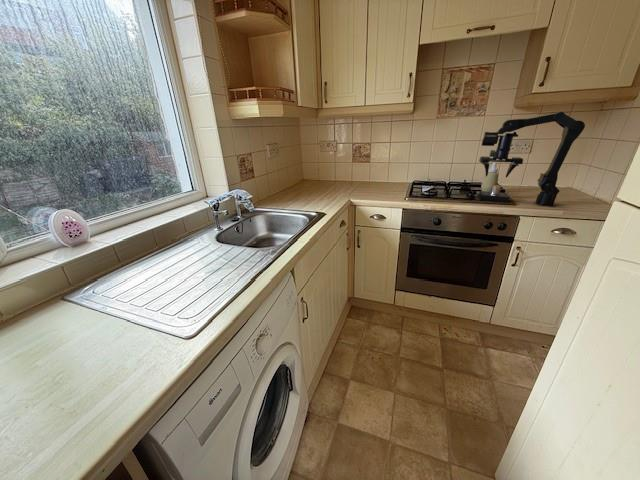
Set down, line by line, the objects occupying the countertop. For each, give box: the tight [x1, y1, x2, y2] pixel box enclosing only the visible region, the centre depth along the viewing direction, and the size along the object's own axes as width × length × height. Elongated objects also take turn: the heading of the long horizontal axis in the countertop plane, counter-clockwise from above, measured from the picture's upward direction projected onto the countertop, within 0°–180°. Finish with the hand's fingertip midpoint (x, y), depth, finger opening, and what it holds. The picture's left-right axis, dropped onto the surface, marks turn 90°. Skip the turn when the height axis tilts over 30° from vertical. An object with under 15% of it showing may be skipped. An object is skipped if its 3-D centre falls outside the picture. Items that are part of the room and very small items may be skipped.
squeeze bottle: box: [480, 162, 500, 192], centre depth 155 cm, size 8×8×18 cm
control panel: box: [478, 190, 511, 204], centre depth 145 cm, size 13×10×3 cm
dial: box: [490, 184, 502, 195], centre depth 144 cm, size 4×4×5 cm
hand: (496, 176), depth 141 cm, fingers open, 9 cm apart
